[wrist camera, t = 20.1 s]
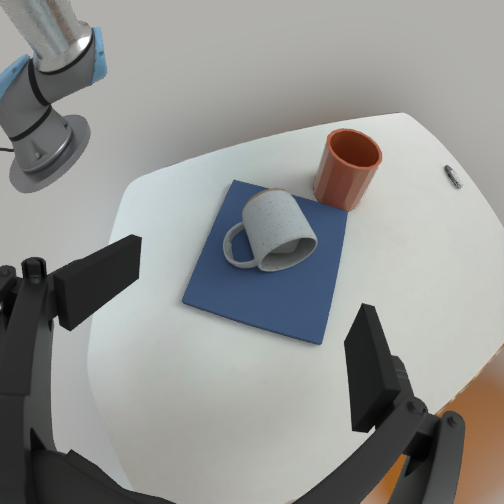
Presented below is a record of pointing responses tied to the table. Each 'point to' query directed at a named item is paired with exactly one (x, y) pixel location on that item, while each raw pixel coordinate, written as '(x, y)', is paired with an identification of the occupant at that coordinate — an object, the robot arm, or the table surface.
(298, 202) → the blue mat
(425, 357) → the table surface
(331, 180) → the clay cup
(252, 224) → the ceramic mug
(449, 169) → the oval pebble
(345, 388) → the table surface
